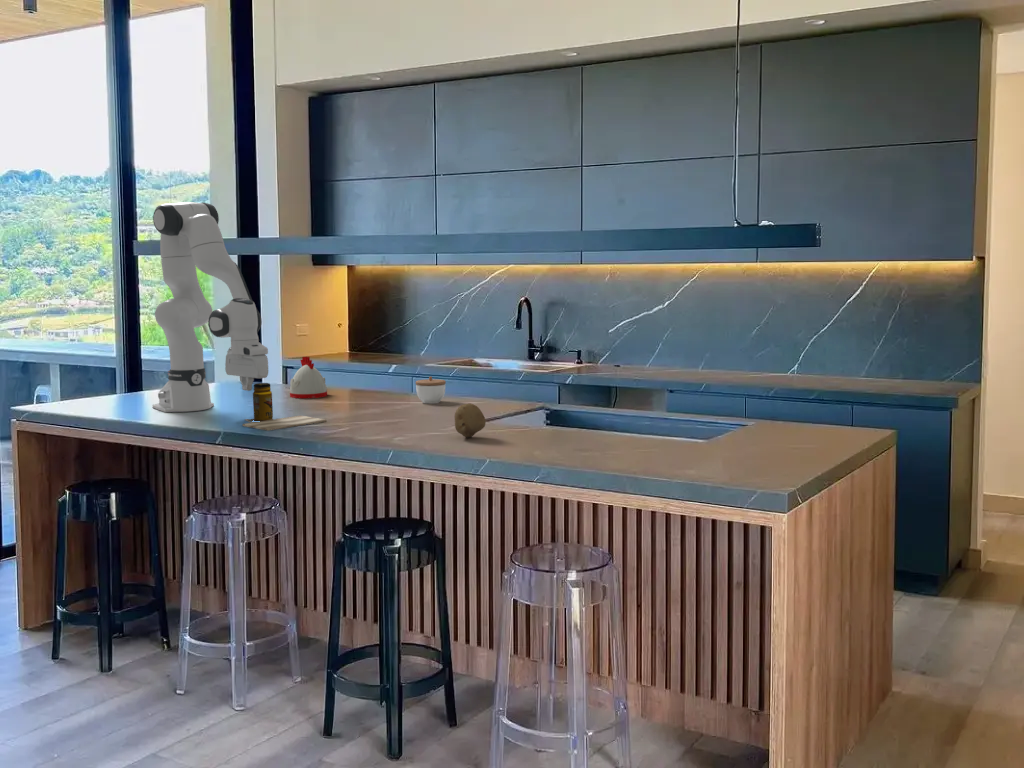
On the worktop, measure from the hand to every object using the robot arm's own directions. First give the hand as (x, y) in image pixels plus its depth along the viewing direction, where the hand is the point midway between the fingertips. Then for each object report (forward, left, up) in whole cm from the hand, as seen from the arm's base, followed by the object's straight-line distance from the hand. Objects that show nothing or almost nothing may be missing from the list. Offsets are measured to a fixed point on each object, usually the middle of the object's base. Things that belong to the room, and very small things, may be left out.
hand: (247, 390), depth 342 cm
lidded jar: (+21, +62, -10) cm, 66 cm away
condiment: (+7, 0, -10) cm, 12 cm away
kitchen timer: (-29, +45, -10) cm, 54 cm away
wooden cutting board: (+19, +1, -9) cm, 21 cm away
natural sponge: (+83, +21, -10) cm, 86 cm away
